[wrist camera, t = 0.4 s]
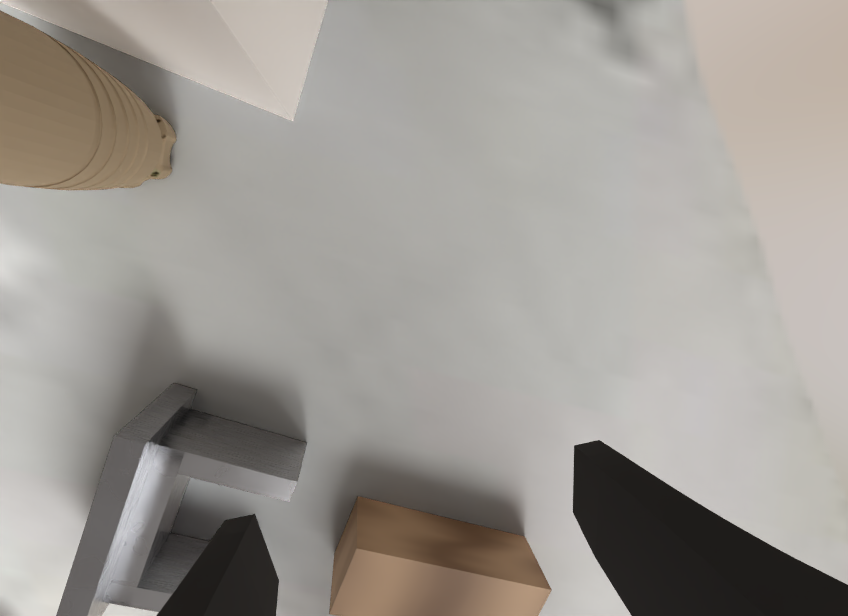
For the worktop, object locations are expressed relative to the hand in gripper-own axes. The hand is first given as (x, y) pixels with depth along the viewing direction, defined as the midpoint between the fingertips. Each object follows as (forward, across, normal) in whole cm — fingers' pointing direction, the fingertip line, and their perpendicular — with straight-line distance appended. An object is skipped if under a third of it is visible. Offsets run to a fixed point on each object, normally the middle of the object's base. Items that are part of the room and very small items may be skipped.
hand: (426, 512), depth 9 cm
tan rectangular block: (+9, 0, +13) cm, 16 cm away
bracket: (+10, +9, +7) cm, 15 cm away
